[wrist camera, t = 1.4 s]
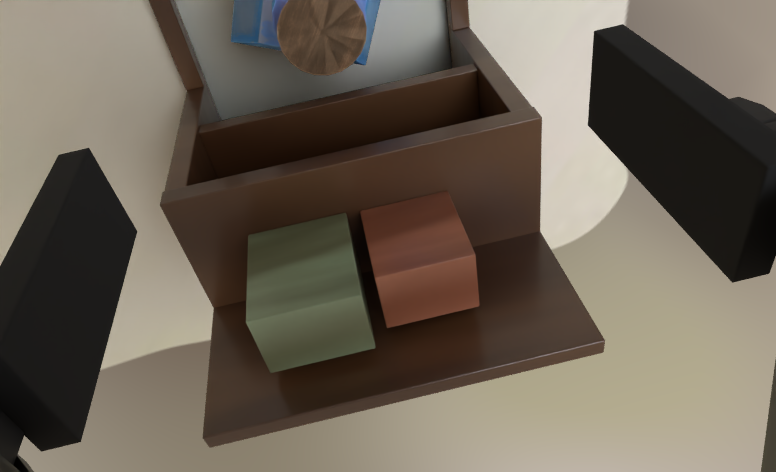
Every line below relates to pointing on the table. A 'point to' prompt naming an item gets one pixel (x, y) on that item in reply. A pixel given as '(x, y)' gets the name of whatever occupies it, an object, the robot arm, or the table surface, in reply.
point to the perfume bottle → (308, 30)
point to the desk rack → (367, 241)
